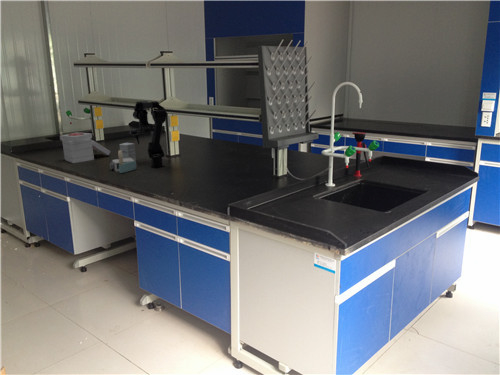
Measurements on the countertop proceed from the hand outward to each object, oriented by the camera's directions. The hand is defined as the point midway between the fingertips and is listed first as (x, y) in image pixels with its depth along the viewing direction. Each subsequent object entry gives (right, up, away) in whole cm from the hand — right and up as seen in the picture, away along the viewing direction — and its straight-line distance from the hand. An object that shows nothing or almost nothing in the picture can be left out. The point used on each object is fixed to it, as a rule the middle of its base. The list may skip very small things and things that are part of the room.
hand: (145, 143), depth 289 cm
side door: (-6, -19, -19) cm, 28 cm away
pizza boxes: (-47, -9, +20) cm, 52 cm away
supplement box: (-13, -12, +7) cm, 19 cm away
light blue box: (-11, -17, -12) cm, 24 cm away
